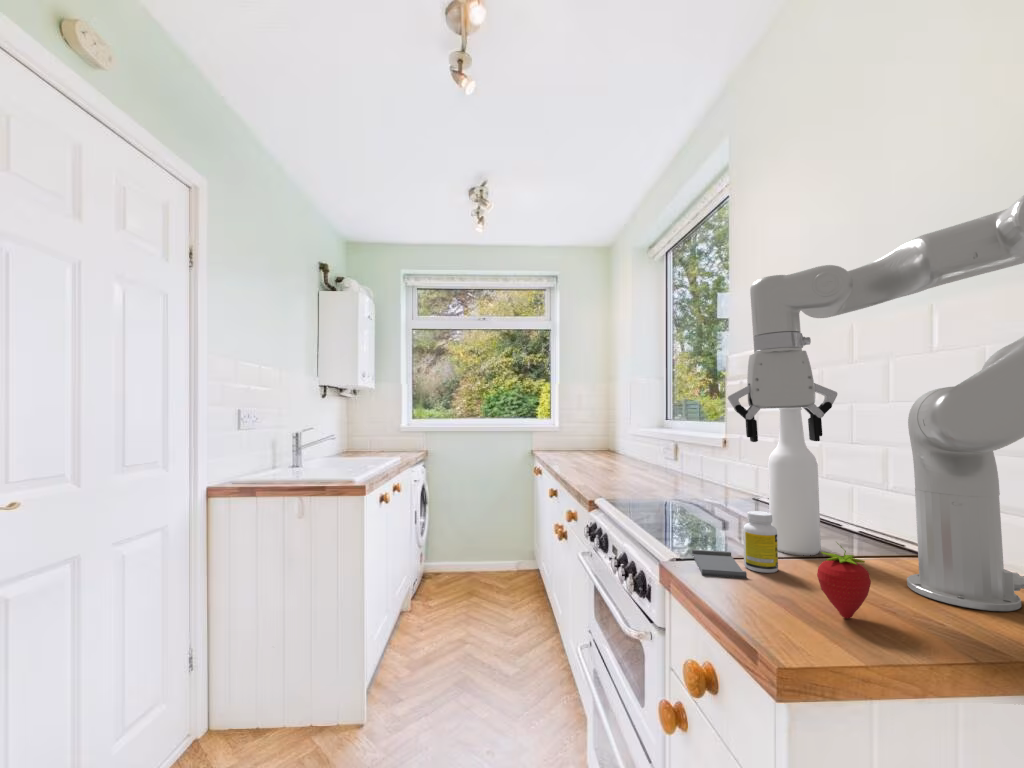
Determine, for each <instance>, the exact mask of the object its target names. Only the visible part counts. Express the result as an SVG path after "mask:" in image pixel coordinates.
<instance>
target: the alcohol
mask: <svg viewBox="0 0 1024 768" xmlns="http://www.w3.org/2000/svg"><path fill="white" fill-rule="evenodd" d="M778 410H779V423H778V442H777V445H776V447H775V448H774V449H773V450H772V451H771V453H770V454H769V456H768V460H767V473H768V474H767V476H768V480H767V481H768V504H769V505H768V506H769V507H768V508H769V509H768V510H769V512H768V513H771V514H772V520H773V521H772V523H771V525H772V526H774V527H775V528H776V530H777V547H778V552H780V553H783V552H784V554H788V555H794V556H795V555H796V556H803V555H804V556H806V557H807V556H810V555H811V556H816V555H818V554H819V553H820V552H821V549H822V543H821V540H822V539H821V515H820V491H819V486H820V485H819V467H818V466H819V465H818V462H817V458H816V456H815V454H814V453H812V452H811V451H810V450H809V448H808V446H807V444H806V440H805V434H804V426H803V418H802V410H803V407H796V408H778Z"/></svg>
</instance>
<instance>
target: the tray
mask: <svg viewBox="0 0 1024 768" xmlns="http://www.w3.org/2000/svg"><path fill="white" fill-rule="evenodd" d="M692 554H693V555H692ZM691 555H692V557H693V556H694V557H693V559H694V558H695V559H694V561H695V564H696V565H697V568H698V567H699V568H698V569H699V571H700V574H701V575H702V576H708V577H709V576H710V577H721V578H735V579H736V578H738V579H747V576H748V575H747V573H748V572H747V571H746V570H743V569H742V568H741V566H739V564H738V563H737V561H736V560H735V558H734V557H733V556H732V552H731V551H725V550H724V551H723V550H708V549H707V550H706V549H705V550H704V549H691Z"/></svg>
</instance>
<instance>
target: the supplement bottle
mask: <svg viewBox="0 0 1024 768" xmlns="http://www.w3.org/2000/svg"><path fill="white" fill-rule="evenodd" d="M746 515H747V517H746V518H747V521H748V522H746V523H745V524H744V526H743V530H742V531H743V562H744V563H743V565H744V567H745V568H746V569H748V570H750V571H753V572H756V573H764V574H765V573H766V574H767V573H768V574H773V573H777V571H778V570H779V551H778V547H777V530H776V528H775V527H774V526H772V525H771V523H772V521H773V520H772V514H771V513H770V512H767V511H760V510H750V511H747V514H746Z"/></svg>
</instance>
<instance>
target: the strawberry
mask: <svg viewBox="0 0 1024 768" xmlns="http://www.w3.org/2000/svg"><path fill="white" fill-rule="evenodd" d="M835 543H837V545H839V547H840V548H841V549H842V550H843V551H844V553H843V556H842V555H838V554H837V553H831V552H825V551H824V552H823V551H820V553H821V554H822V555H825V556H828V557H829V558H827V559H825V560H823V561H822V562H821V563H820V564H819V566H818V567H817V571H816V572H817V573H816V575H817V580H818V583H819V585H820V588H821V591H822V593H824V595H825V597H826V598H827V599H828V600H829V602H830V604H832V605H833V607H834V608H835V609H836V610H837V611H838V613H839V615H840V616H841V617H843V618H844V619H847V620H848V619H851V618H852V617H853V616H854V614H855V613H856V612H857V611H858V610H859V609H860V608H861V606H862V604H863V603H864V602H865V600H866V599H867V597H868V596H869V593H870V590H871V589H870V588H871V584H872V581H871V580H872V579H871V575H870V573H869V571H868V570H867V569H866V567H864V566H863V565H862V564H865V562H866V561H865V560H863V559H857V558H854V557H855V554H846V553H847V552H846V551H847V550H845V549H844V547H843V546H841V545H840V543H838V542H837V541H835Z"/></svg>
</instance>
